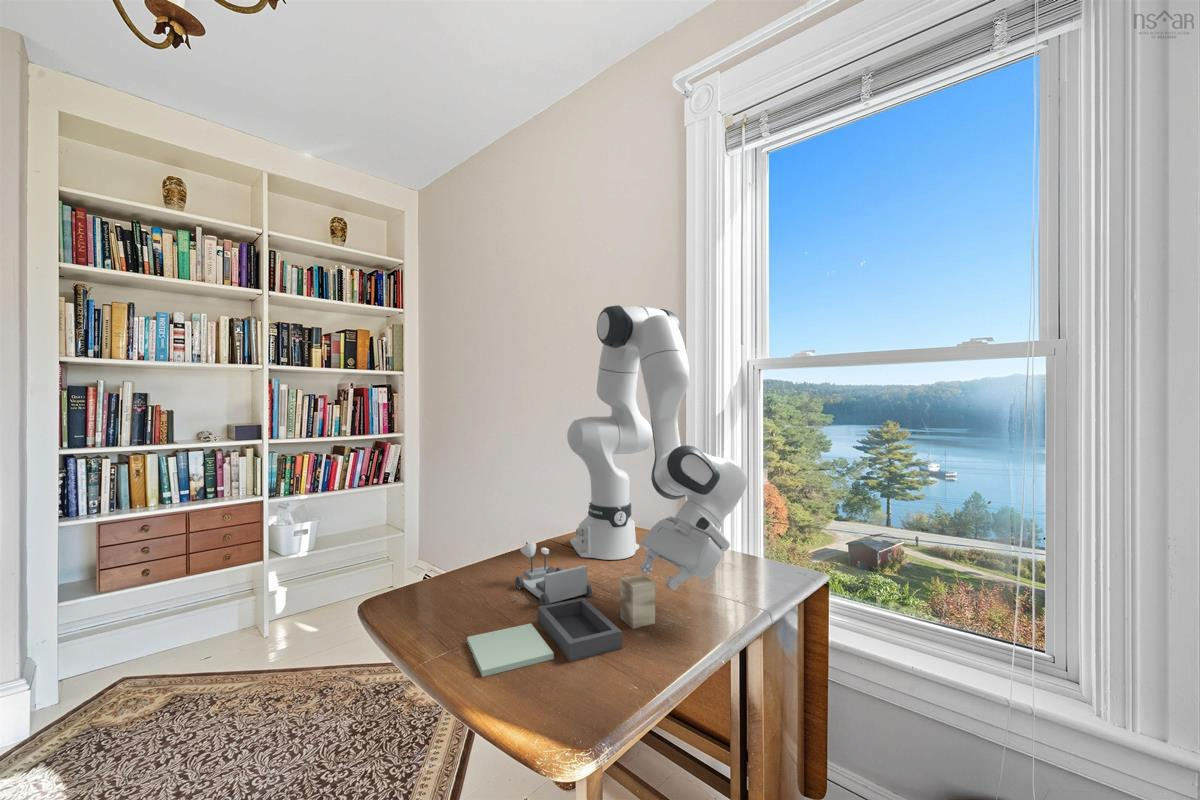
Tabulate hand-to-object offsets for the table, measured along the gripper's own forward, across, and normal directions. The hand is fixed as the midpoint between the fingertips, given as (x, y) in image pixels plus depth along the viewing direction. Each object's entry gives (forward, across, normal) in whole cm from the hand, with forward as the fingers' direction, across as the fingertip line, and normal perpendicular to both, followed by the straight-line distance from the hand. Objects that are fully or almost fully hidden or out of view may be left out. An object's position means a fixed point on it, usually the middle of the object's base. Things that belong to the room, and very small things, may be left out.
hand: (656, 579), depth 97 cm
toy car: (+16, -23, -4) cm, 28 cm away
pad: (+27, 0, -16) cm, 31 cm away
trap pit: (+18, 0, -7) cm, 19 cm away
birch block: (+8, 0, +2) cm, 9 cm away
